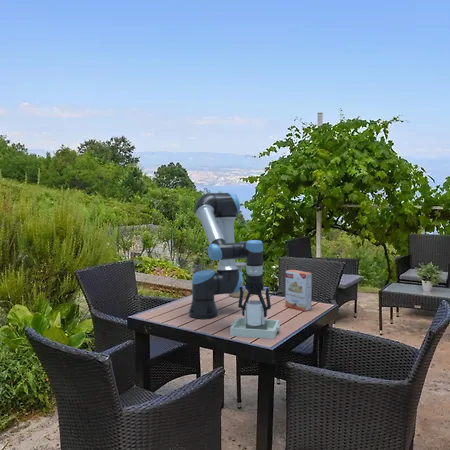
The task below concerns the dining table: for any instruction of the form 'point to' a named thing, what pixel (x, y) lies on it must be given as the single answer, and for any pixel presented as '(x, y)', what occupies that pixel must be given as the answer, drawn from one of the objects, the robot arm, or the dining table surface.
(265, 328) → the block
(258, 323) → the white cup
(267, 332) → the tray
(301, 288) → the cracker box
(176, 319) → the dining table surface
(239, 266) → the candle holder
